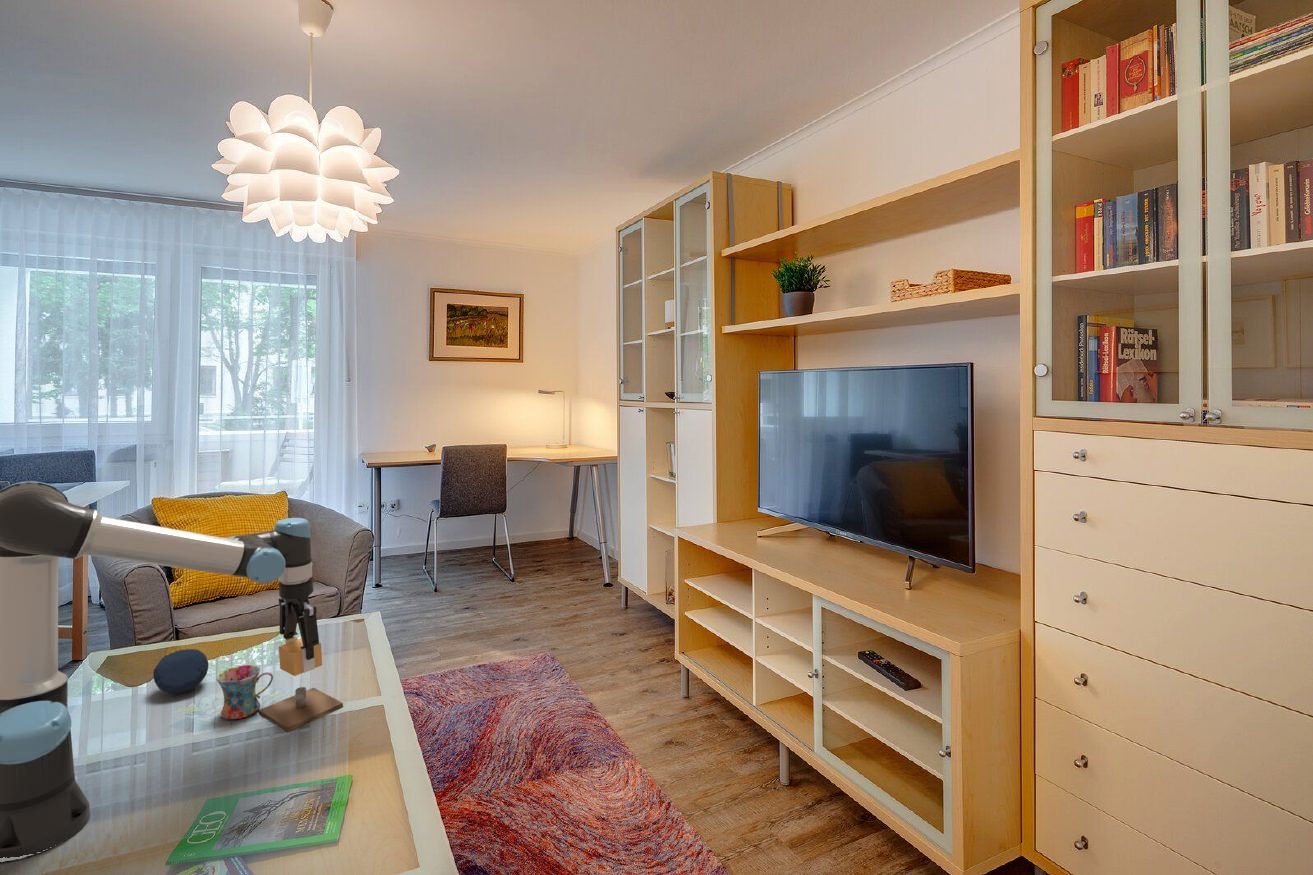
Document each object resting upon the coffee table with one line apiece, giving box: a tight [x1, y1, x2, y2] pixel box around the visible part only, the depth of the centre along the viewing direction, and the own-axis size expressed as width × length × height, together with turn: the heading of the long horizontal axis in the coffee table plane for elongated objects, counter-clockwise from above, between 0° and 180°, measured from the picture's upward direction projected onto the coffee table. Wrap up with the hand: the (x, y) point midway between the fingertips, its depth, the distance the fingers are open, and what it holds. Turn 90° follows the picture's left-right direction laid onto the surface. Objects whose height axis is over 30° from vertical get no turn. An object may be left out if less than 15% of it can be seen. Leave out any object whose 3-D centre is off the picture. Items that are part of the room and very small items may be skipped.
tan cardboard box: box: [278, 637, 323, 677], centre depth 163 cm, size 7×7×6 cm
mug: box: [216, 664, 274, 720], centre depth 163 cm, size 12×9×11 cm
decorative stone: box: [153, 648, 209, 695], centre depth 173 cm, size 12×12×10 cm
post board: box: [258, 686, 344, 732], centre depth 164 cm, size 14×14×6 cm
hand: (300, 666), depth 163 cm, fingers closed on tan cardboard box, 7 cm apart
